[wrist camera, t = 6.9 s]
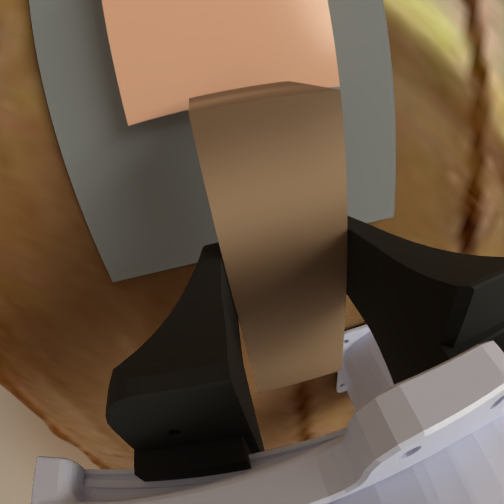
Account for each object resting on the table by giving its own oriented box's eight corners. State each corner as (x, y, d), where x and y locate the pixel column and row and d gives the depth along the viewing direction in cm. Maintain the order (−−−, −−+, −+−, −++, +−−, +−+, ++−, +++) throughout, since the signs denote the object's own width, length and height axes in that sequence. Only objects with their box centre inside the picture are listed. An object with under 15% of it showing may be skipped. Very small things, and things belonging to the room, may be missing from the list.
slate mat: (389, 213, 21) (393, 216, 21) (114, 276, 20) (112, 282, 19) (360, -74, 10) (364, -77, 10) (31, -22, 9) (27, -24, 8)
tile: (339, 86, 14) (311, -74, 9) (128, 125, 13) (95, -43, 8) (324, 84, 15) (298, -61, 10) (135, 119, 15) (105, -32, 10)
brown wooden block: (309, 303, 18) (341, 370, 14) (241, 320, 18) (258, 393, 14) (287, 80, 12) (340, 90, 8) (189, 98, 11) (188, 114, 7)
